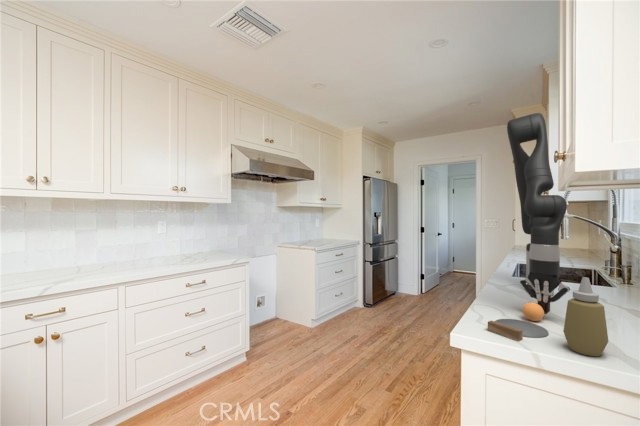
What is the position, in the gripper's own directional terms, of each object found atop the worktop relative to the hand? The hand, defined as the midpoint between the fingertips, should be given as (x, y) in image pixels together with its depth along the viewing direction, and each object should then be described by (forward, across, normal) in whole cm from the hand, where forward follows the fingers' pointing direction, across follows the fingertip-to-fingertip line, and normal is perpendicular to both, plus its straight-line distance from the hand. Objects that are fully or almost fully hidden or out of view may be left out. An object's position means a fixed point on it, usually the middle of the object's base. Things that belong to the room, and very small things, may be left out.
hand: (543, 313), depth 91 cm
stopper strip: (+2, +1, +23) cm, 23 cm away
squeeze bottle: (+2, -14, +16) cm, 21 cm away
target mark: (+2, +1, +14) cm, 14 cm away
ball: (-1, +1, +4) cm, 4 cm away
